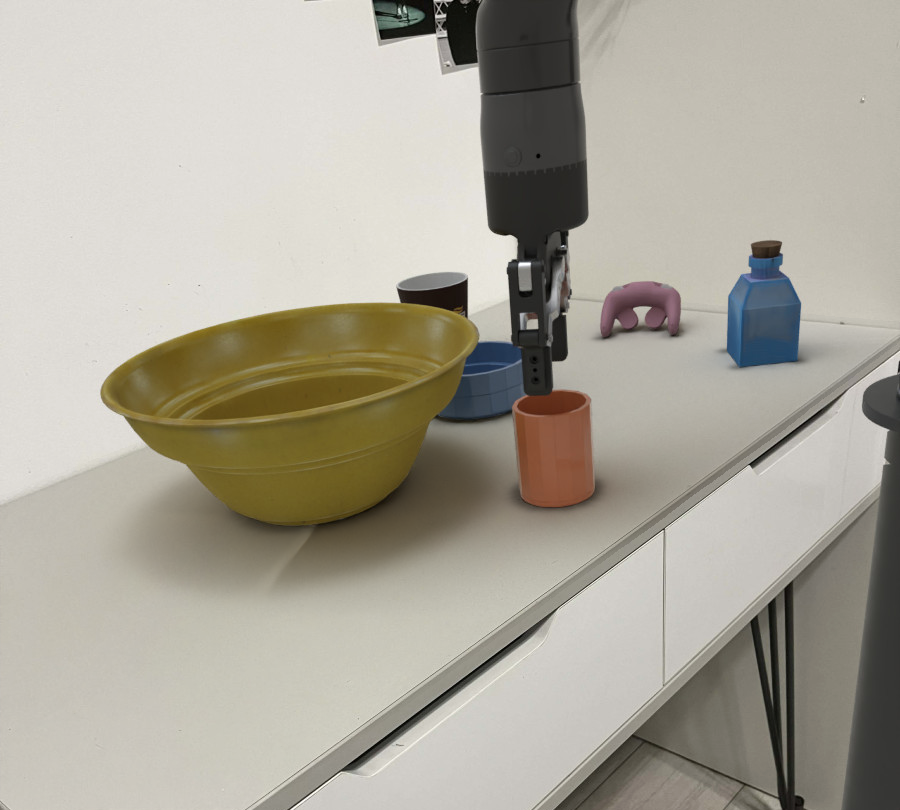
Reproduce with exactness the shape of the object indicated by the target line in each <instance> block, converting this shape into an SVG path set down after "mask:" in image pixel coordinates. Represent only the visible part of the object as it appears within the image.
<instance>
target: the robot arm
mask: <svg viewBox="0 0 900 810" xmlns="http://www.w3.org/2000/svg"><path fill="white" fill-rule="evenodd" d="M578 4H579V0H482V1H481V3H480V4H479V6H478V8H477V12H476V17H475V42H476V43H475V45H476V56H477V67H478V68H477V69H478V77H479V79H478V81H479V90H480V91H479V93H480V118H479V132H480V133H479V134H480V135H479V136H480V147H481V159H482V160H481V161H482V171H483V182H484V183H483V184H484V195H485V206H486V207H485V208H486V218H487V226H488V229H489V231H491V232H492V233H493V234H495V235H497V236H502V237H506V236H511V237H514V238H515V239H516V241H517V246H516V258H511V260H510V261H508V263H507V266H506V275H507V283H508V299H509V313H510V314H509V315H510V329H511V330H510V331H511V335H510V342H512V344H513V347H518V348H521V358H522V372H523V386H524V392H525V394H526V395H528V396H546V395H549V394H551V392H552V390H554V372H553V362H554V363H556V362H557V363H558V362H564V361H566V359H568V355H569V343H568V323H567V322H568V321H567V314H568V312H569V309H570V301H569V300H571V296H572V295H573V289H572V288H571V282H572V280H571V272H570V271H571V270H570V261H571V260H570V259H571V256H570V249H569V236H570V230H574V229H577V228H579V227H581V226H582V225H584V224H585V223H586V222H587V221H588V219H589V185H588V183H589V181H588V180H589V179H588V156H587V154H588V153H587V152H588V151H587V125H586V112H585V106H584V100H583V94H582V85H581V84H582V83H581V82H580V81H581V57H580V38H579V37H580V32H579V19H578V6H579V5H578ZM531 320H537V328H528V327H527V326H528V322H529V321H531ZM898 374H900V360H898V364H897V373H896V375H898ZM897 398H898V399H899V401H900V376H899V384H898V387H897Z"/></svg>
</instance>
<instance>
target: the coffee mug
mask: <svg viewBox="0 0 900 810" xmlns="http://www.w3.org/2000/svg"><path fill="white" fill-rule="evenodd" d="M395 287H396V291H397V294H398V299H399V303H407V304H418V305H425V306H432V307H437V308H441V309H445V310H449V311H452V312H455V313H458V314H460V315H462V316H464V317H466V318H467V319H469V276H468V274H467V273H465V272H459V271H439V272H431V273H430V272H429V273H423V274H419V275H414V276H411V277H408V278H405V279H402V280H400V281H399V282H397V283H396V286H395Z"/></svg>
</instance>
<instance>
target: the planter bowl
mask: <svg viewBox="0 0 900 810" xmlns="http://www.w3.org/2000/svg"><path fill="white" fill-rule="evenodd" d="M479 341H480V331H479V329H478V327H477V326H476V324H475V323H474V322H473V321H472V320H470V319H469V318H468V319H467V318H466V317H464V316H462V315H460V314H458V313H455V312H452V311H449V310H445V309H441V308H437V307H432V306H425V305H418V304H407V303H400V302H348V303H334V304H321V305H315V306H313V305H312V306H306V307H305V306H304V307H298V308H291V309H284V310H278V311H273V312H268V313H267V312H266V313H262V314H257V315H253V316H248V317H242V318H239V319H234V320H230V321H226V322H222V323H218V324H215V325H211V326H207V327H203V328H201V329H197V330H194V331H191V332H187V333H185V334H182V335H179V336H176V337H173V338H170V339H168V340H165V341H163V342H161V343H158V344H156V345H154V346H151V347H149V348H147V349H145V350H143V351H141V352H139V353H136V354H135V355H133V356H131V357H130V358H128V359H127V360H126V361H124V362H123V363H122V364H120V365H118V366H117V367H116V368H115V369H114V370H113V371H112V372H110V373H109V375H108V376H106V378H105V380H104V381H103V383H102V384H101V388H100V389H99V392H100V393H99V394H100V399H101V401H102V403H103V404H104V406H105V407H107V409H109V410H110V411H112V412H114V413H116V414H117V415H119V416H122V417H123V418H124V419H125V421H126V422H127V424H128V425H129V426H130V428H131V429H132V430H133V431H134V432H135V434H136V435H137V436H138V437H139V438H140V439H141V440H142V441H143V442H144V443H145V444H146V445H147V446H148V447H149V448H150V449H151V450H153V451H154V452H156V453H157V454H159V455H161V456H163V457H164V458H167V459H170V460H172V461H175V462H179V463H181V464H183V465H186V467H187V468H188V470H190V472H191V473H192V474H193V475H194V476H195V477H196V478H197V480H199V482H200V483H201V484H202V485H203V487H205V488H206V489H207V490H208V491H209V492H210V493H211V494H212V495H214V497H216V498H217V500H219V501H220V502H222V503H223V504H224V505H225V506H226V507H227V508H228V509H230V510H232V511H234V512H235V513H236V514H240V515H242V516H244V517H247V518H251V519H254V520H256V521H258V522H259V521H260V522H261V523H266V524H270V525H276V526H277V525H278V526H290V527H291V526H292V527H293V526H294V527H297V526H310V525H311V526H312V525H318V524H326V523H330V522H335V521H338V520H341V519H346V518H349V517H351V516H354V515H357V514H360V513H362V512H364V511H366V510H368V509H371V508H372V507H374V506H376V505H377V504H379V503H380V502H382V501H383V500H384V499H386V498H387V497H388V496H389V495H390V494H391V493H392V492H394V491H395V490H396V489H397V488H399V487H400V485H401V484H403V482H404V481H405V480H406V478H407V477H408V475H409V473H410V471H411V469H412V467H413V465H414V464H415V461H416V460H417V457H418V455H419V453H420V450H421V449H422V446H423V444H424V441H425V438H426V435H427V432H428V429H429V426H430V424H431V421H432V420H433V419H434V418H435V417H436V416H438V415H437V414H439V413H440V412H441V411H442V410H443V409H444V408H445V407H446V406H447V405H448V404H449V403H450V401H451V400H452V398H453V397H454V395H455V393H456V391H457V388H458V386H459V383H460V380H461V377H462V374H463V370H464V366H465V362H466V358H467V357H468V356H469V355H470V354H471V353H472V352H473V350H474V349H475V347H476V346H477V344H478V342H479Z"/></svg>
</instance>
